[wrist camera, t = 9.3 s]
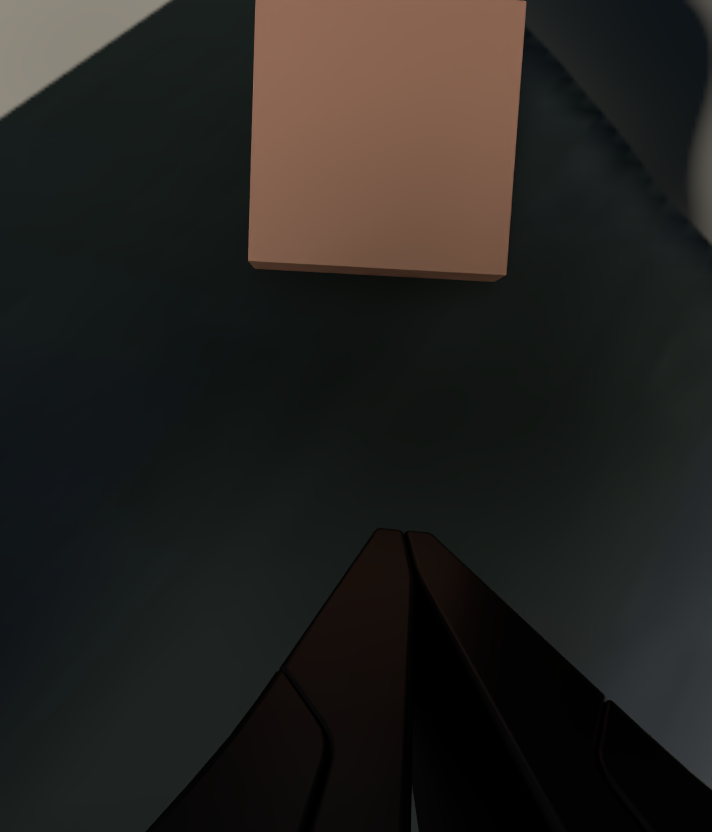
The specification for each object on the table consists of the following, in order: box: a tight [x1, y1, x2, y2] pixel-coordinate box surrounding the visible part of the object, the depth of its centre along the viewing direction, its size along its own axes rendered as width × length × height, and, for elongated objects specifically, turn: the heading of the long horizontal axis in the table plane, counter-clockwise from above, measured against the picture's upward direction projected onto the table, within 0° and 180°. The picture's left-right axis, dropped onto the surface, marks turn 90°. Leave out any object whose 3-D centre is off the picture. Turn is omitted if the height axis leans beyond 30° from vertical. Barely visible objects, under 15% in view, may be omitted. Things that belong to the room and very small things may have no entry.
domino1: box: [248, 0, 526, 282], centre depth 20 cm, size 2×10×10 cm
